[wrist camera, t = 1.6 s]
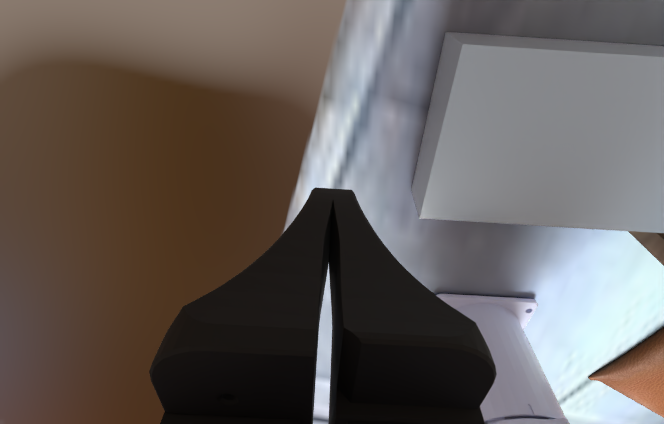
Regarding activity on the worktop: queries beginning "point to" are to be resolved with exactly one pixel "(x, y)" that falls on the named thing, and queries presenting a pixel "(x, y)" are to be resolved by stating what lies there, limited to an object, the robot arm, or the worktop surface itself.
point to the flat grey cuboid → (544, 134)
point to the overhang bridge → (651, 243)
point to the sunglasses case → (639, 373)
